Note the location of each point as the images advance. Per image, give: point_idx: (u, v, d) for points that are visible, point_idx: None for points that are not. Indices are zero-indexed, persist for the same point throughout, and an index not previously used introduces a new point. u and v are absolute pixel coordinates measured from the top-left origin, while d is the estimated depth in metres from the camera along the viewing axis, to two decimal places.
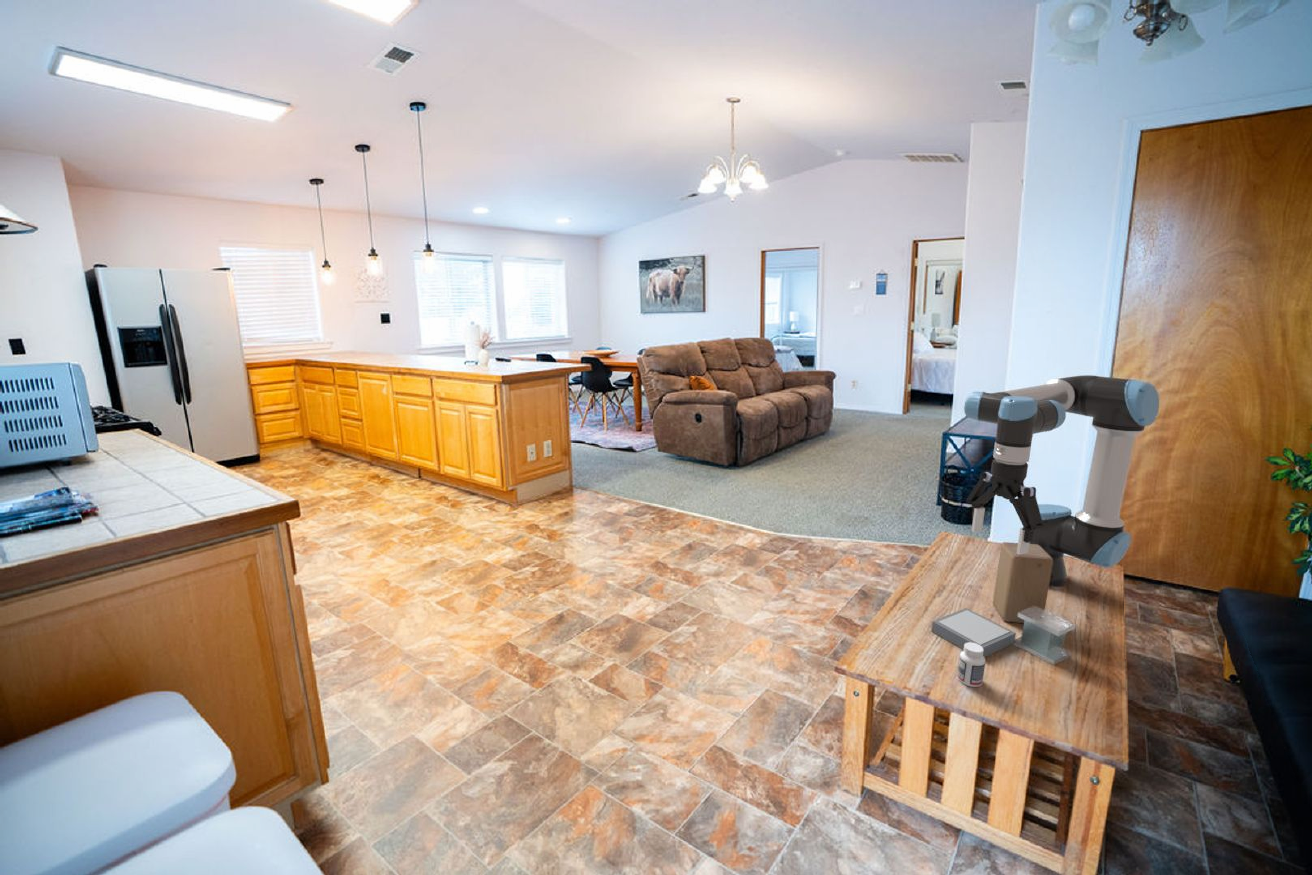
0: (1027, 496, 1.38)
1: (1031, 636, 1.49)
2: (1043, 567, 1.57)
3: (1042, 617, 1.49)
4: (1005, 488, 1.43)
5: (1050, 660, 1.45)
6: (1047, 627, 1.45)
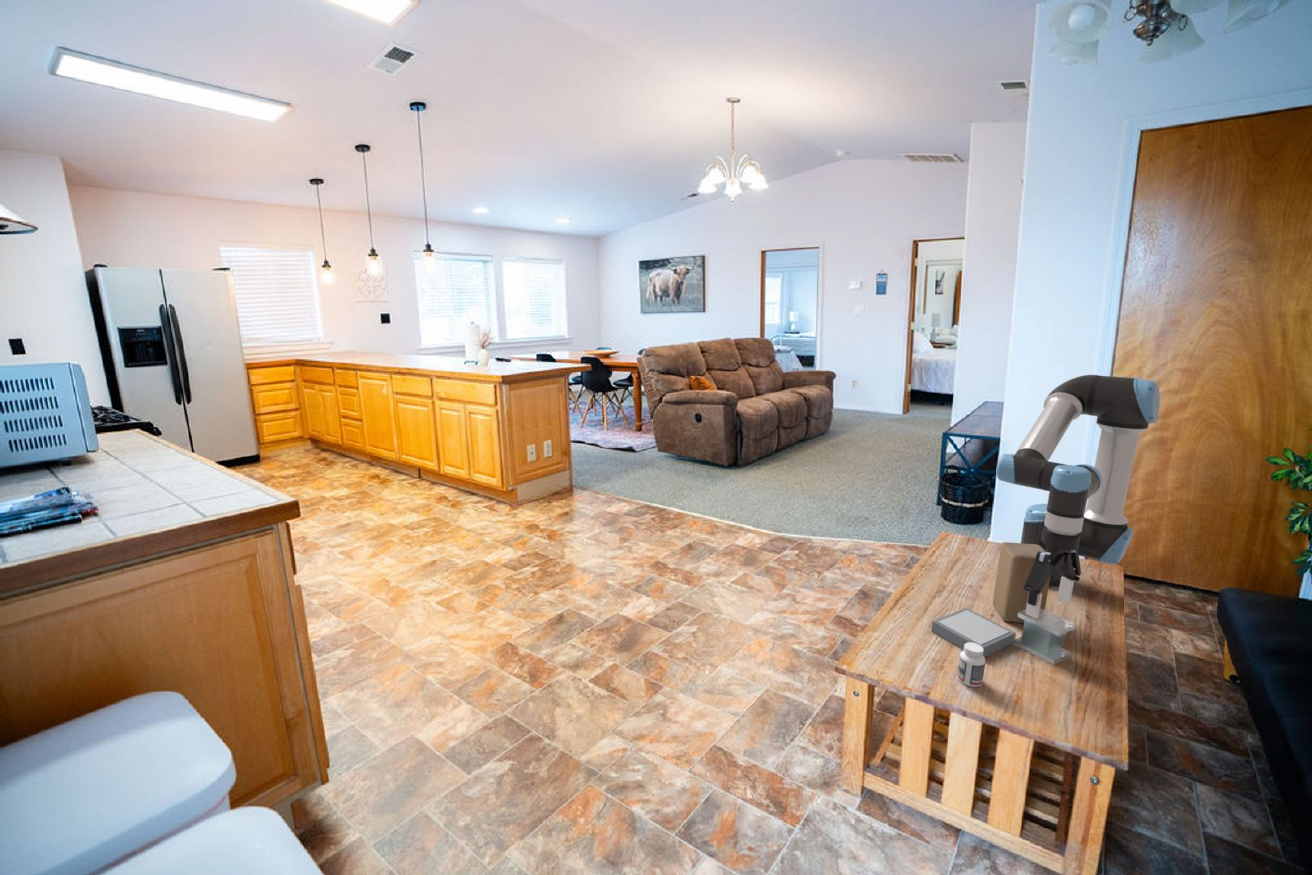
0: (1036, 559, 1.42)
1: (1031, 636, 1.49)
2: None
3: (1042, 617, 1.49)
4: None
5: (1050, 660, 1.45)
6: (1047, 627, 1.45)
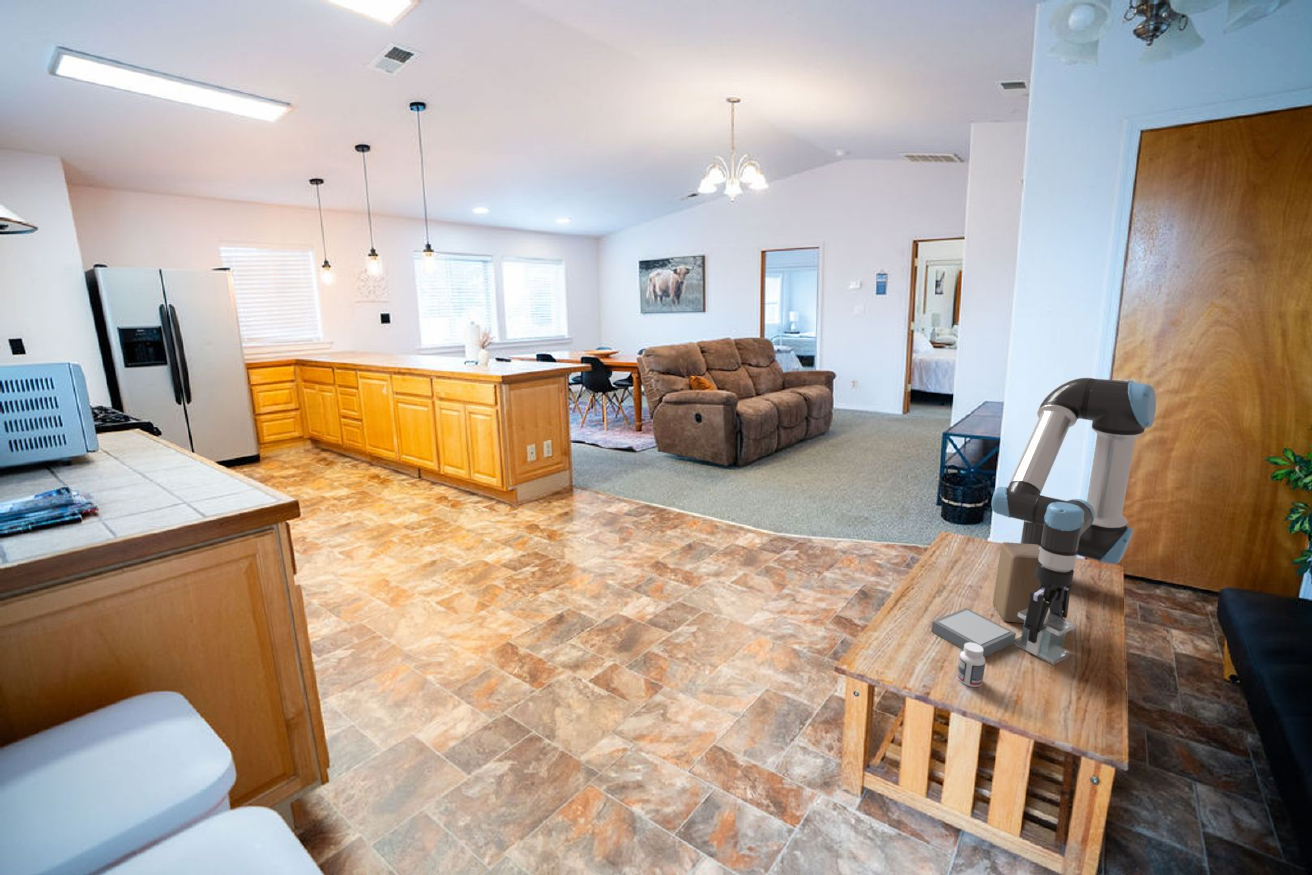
0: (1031, 598, 1.45)
1: None
2: None
3: None
4: None
5: (1050, 660, 1.45)
6: (1047, 627, 1.45)
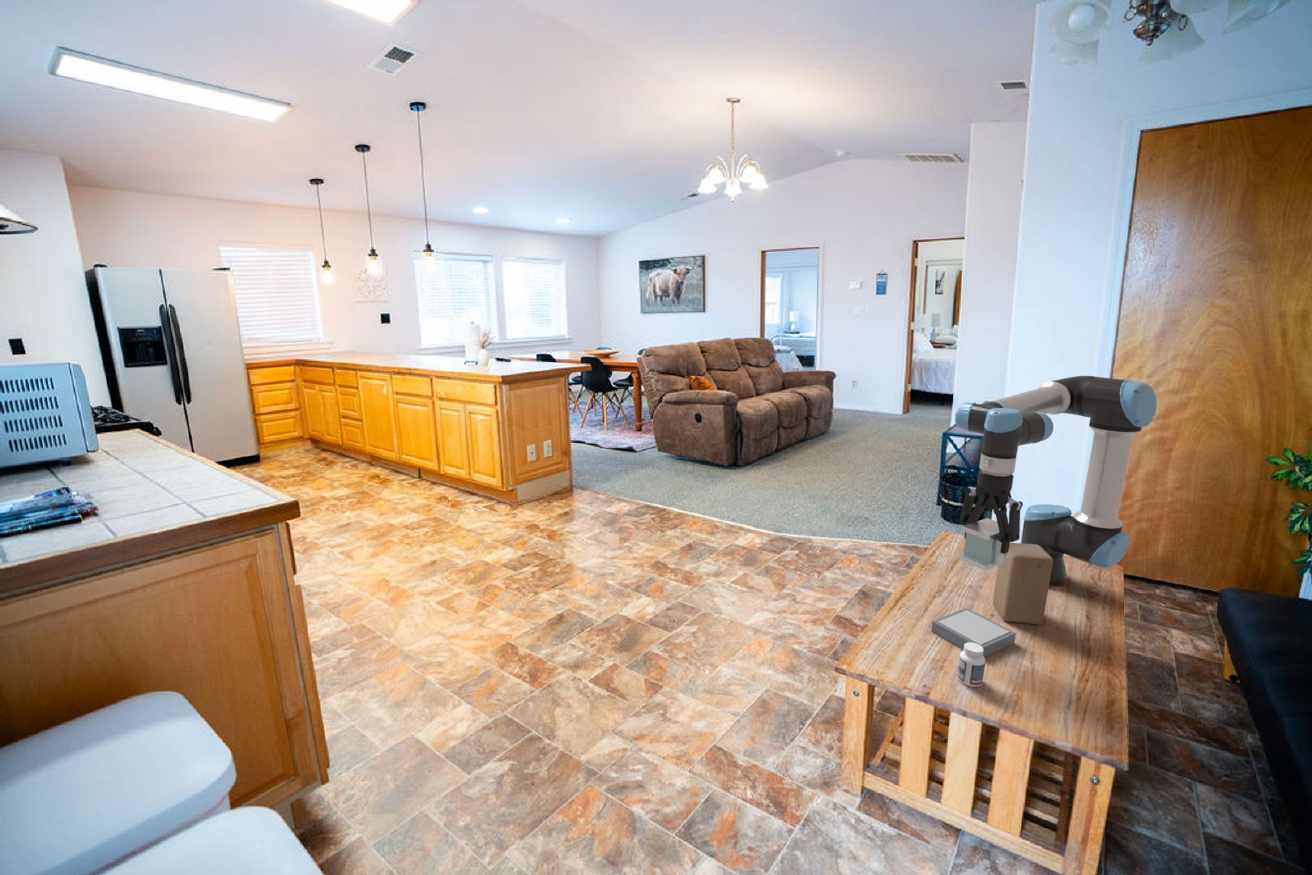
0: (1014, 510, 1.41)
1: None
2: (1043, 567, 1.57)
3: (988, 528, 1.48)
4: (993, 499, 1.45)
5: (1007, 558, 1.50)
6: None
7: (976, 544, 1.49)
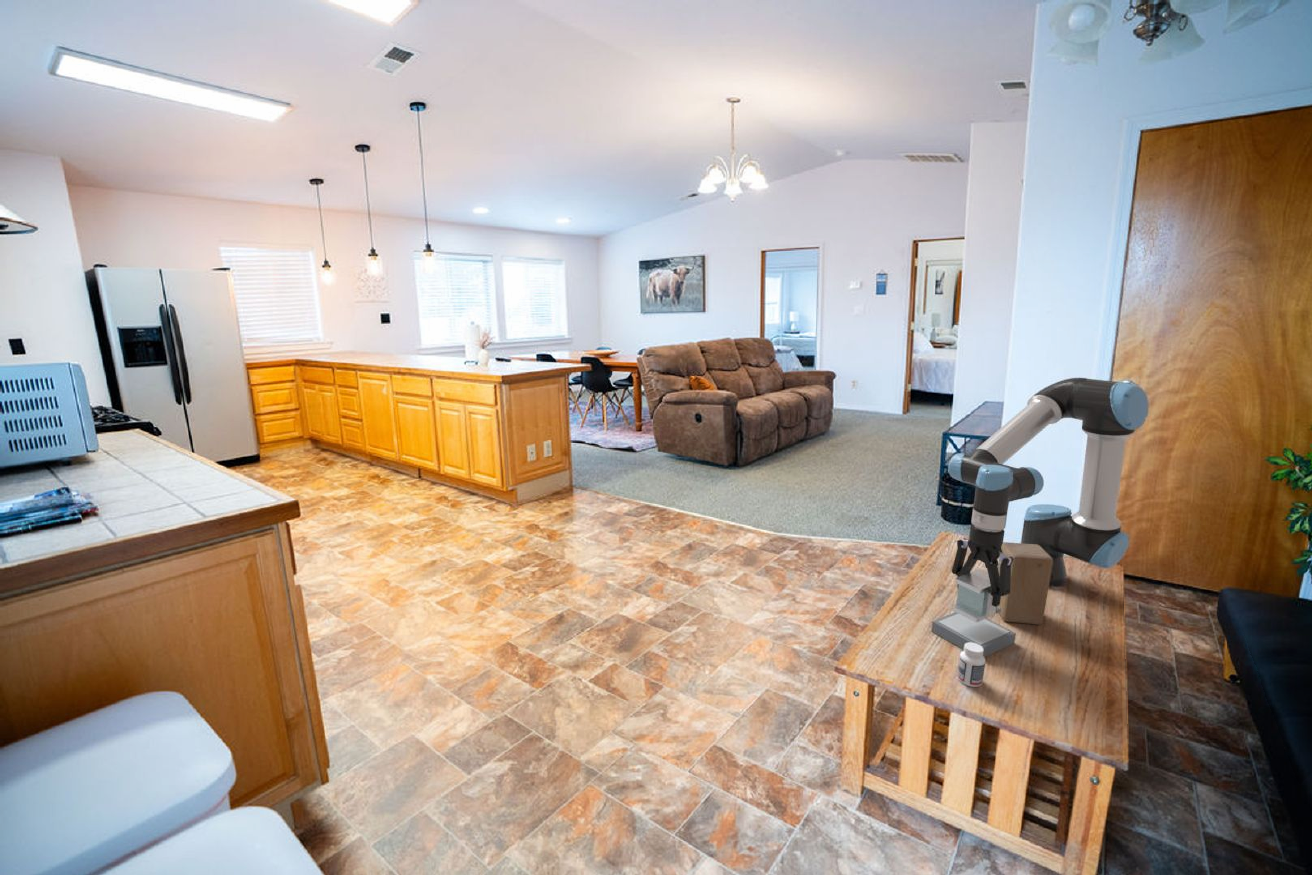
0: (1004, 566, 1.45)
1: None
2: (1043, 567, 1.57)
3: (980, 580, 1.51)
4: (984, 554, 1.48)
5: (999, 609, 1.53)
6: None
7: (968, 595, 1.52)
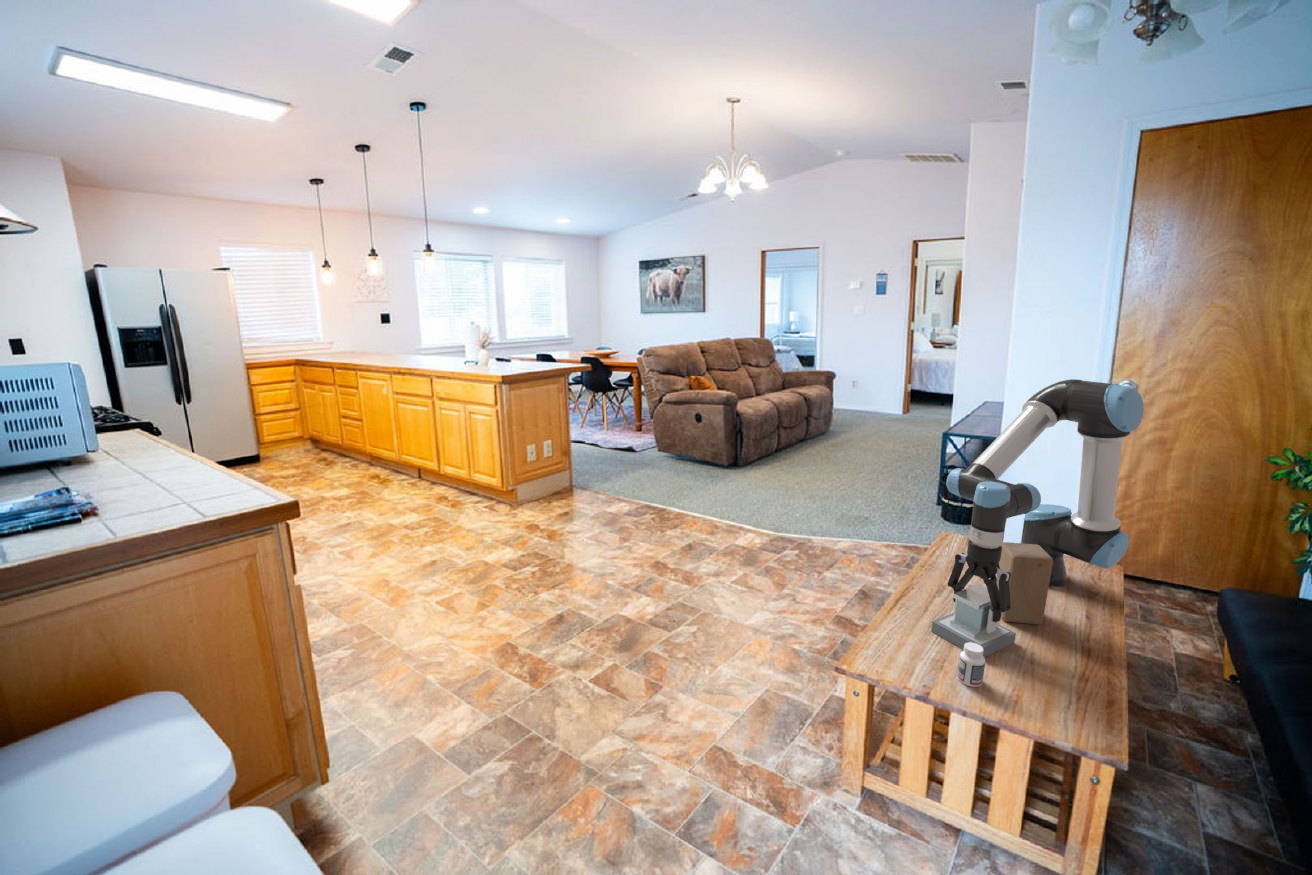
0: (1003, 581, 1.46)
1: (986, 618, 1.51)
2: (1043, 567, 1.57)
3: (978, 596, 1.53)
4: (982, 570, 1.49)
5: (997, 625, 1.55)
6: None
7: (966, 611, 1.54)
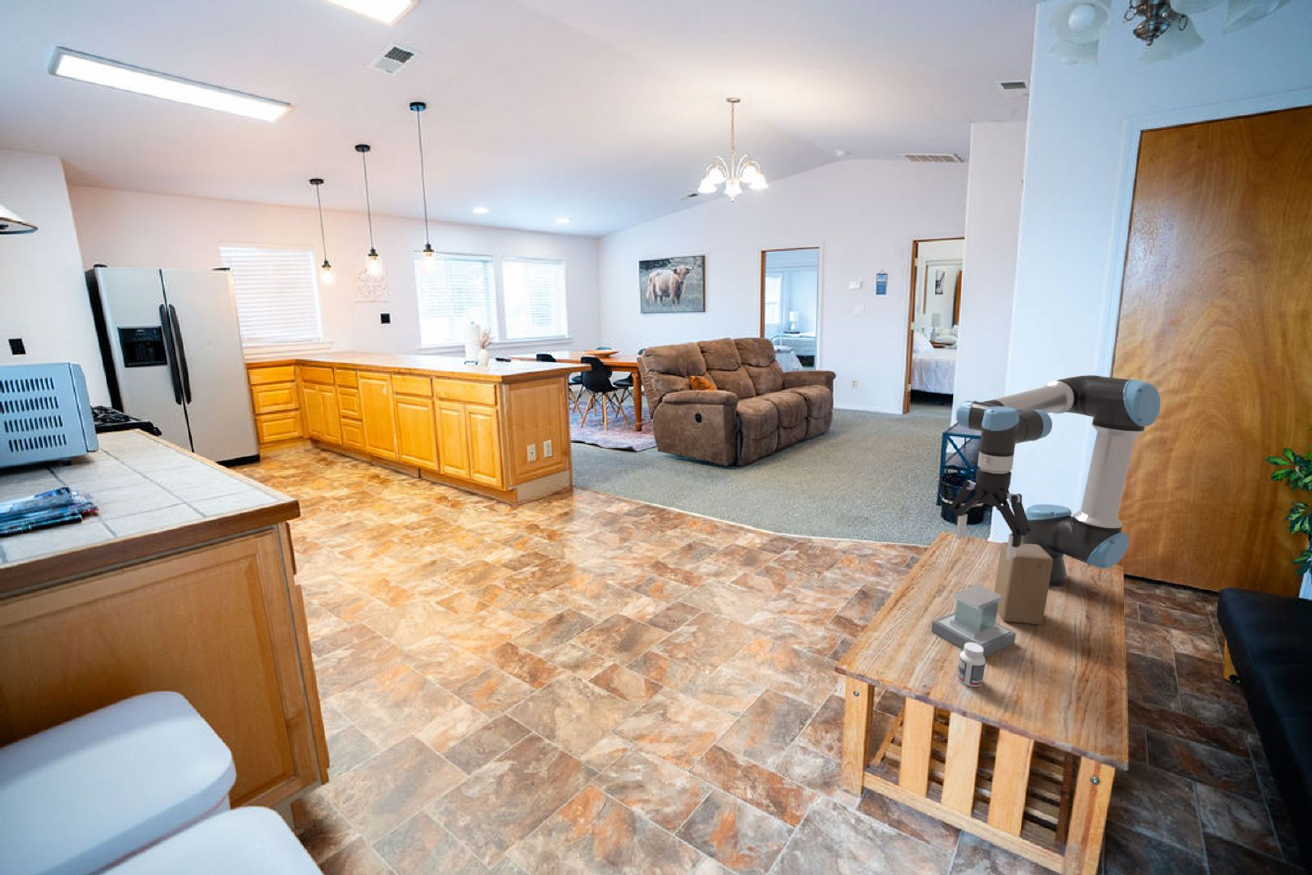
0: (1015, 503, 1.43)
1: (986, 618, 1.51)
2: (1043, 567, 1.57)
3: (978, 596, 1.53)
4: (992, 496, 1.47)
5: (997, 625, 1.55)
6: (996, 599, 1.52)
7: (966, 611, 1.54)
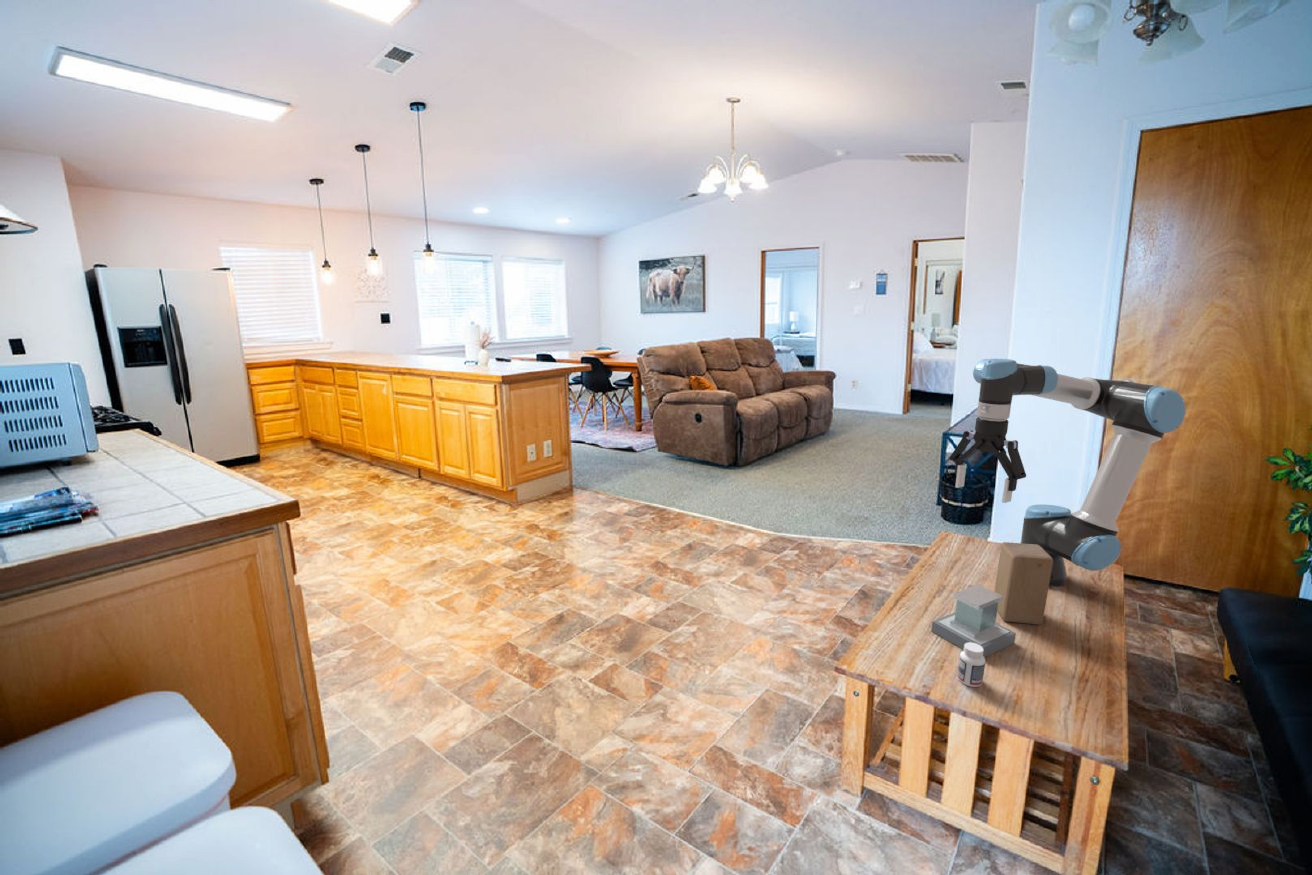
0: (1011, 448, 1.52)
1: (986, 618, 1.51)
2: (1043, 567, 1.57)
3: (978, 596, 1.53)
4: (989, 443, 1.56)
5: (997, 625, 1.55)
6: (996, 599, 1.52)
7: (966, 611, 1.54)
